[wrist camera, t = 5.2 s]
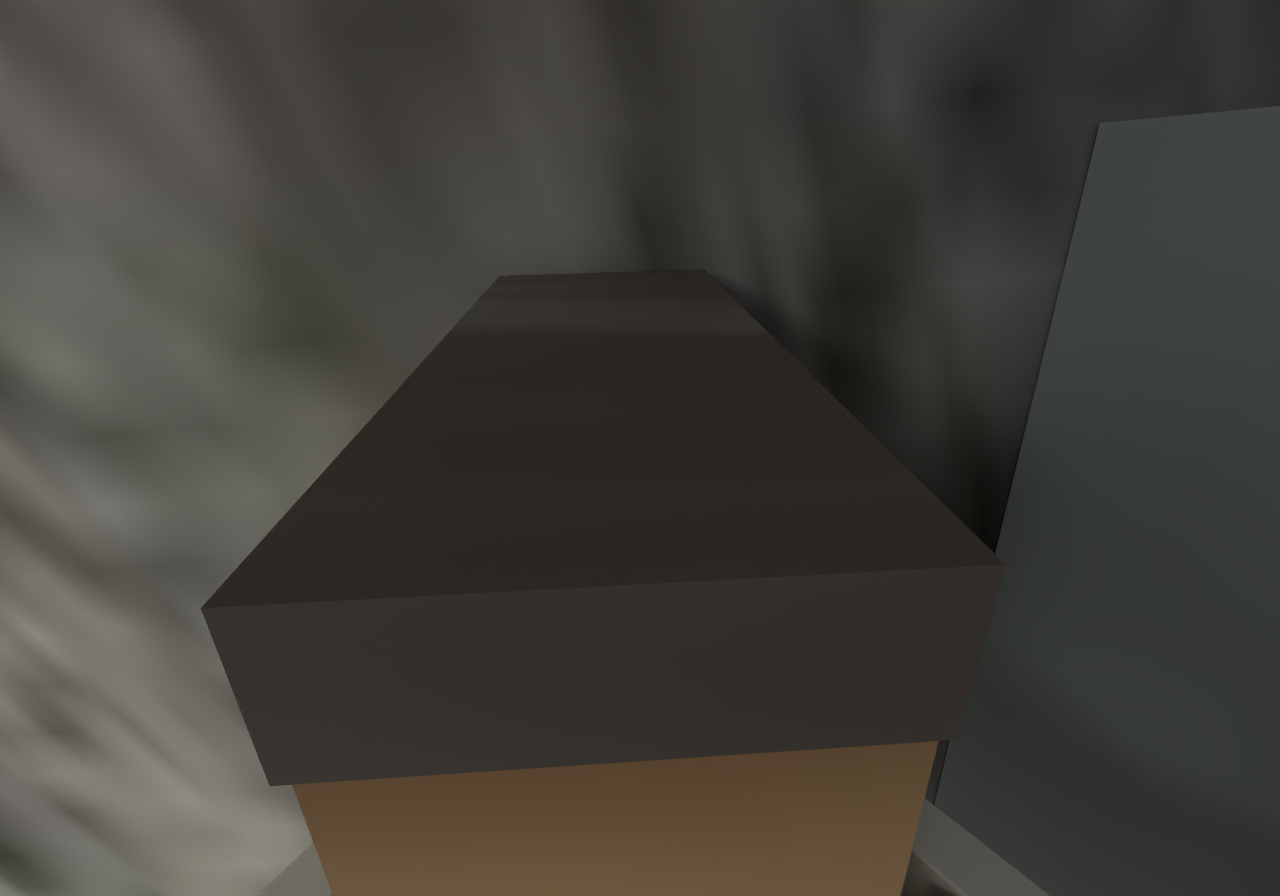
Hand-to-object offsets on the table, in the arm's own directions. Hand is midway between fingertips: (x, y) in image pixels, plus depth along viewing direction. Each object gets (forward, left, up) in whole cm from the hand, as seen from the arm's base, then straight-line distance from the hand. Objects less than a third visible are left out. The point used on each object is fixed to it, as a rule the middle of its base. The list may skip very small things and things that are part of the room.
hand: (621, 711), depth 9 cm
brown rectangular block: (0, 0, -3) cm, 3 cm away
